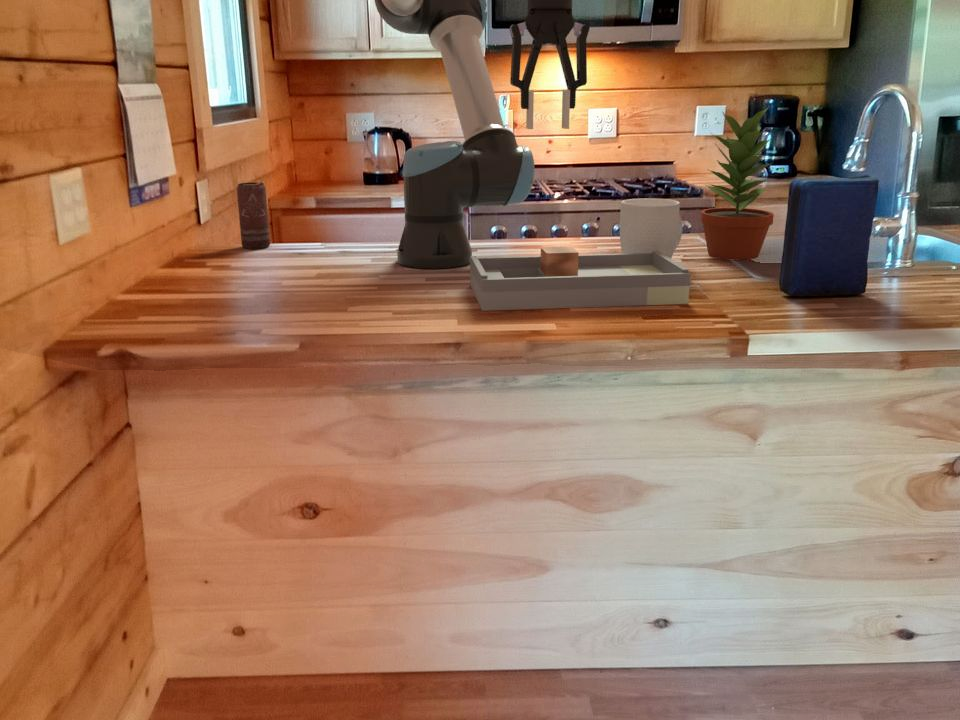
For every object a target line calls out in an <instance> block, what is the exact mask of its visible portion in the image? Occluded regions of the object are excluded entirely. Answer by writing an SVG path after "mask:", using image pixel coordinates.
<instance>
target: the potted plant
mask: <svg viewBox="0 0 960 720" xmlns="http://www.w3.org/2000/svg"><path fill="white" fill-rule="evenodd" d="M770 106H771V105H768V107H767V108H766V109H764V110H759V111H758V112H756V113H755V114H754V115H753V117H750V118H747V119H745V120H744V121H743V122H742V126H741V125H740V123H739V122H738V121H737V120H736V119H735V118H734V117H733V116H730V115H727V114H725V112H722V114H723V117H724V118H725V119H726V121H727V123H728V124H729V127H730V128H731V129H732V131H733V133H734V134H735V136H736V139H734V138H730V137H729V136H728V135H726V138H723V137H721V136H718V135H717V136H716V135H714V134H713V133H712V132H710V134H711V135H712V136H713V137H715V138H716V139H717V140H718V141H719V142H720V143H721V144H722V145H724V146H725V147H726V148H727V149H728V156H729V157H728V156H727V155H726V154H725V153H724V151H723V150H722V149H721V148H720V147H719V146H718V145H717V144H716V143H714V145H715V146H716V147H717V150H719V152H720V153H721V155H722V156H723V157H724V158H725V160H726V161H727V163H724V162H721V161H719V160H717V159H716V161H717V163H718V164H719V166H721V168H723V169H724V171H726V172H727V174H729V177H728V176H727V175H725V174H724V173H721V172H719V171H715V170H709V169H708V171H709V172H710V173H712V174H714V175H715V176H716V177H718V178H720V179H721V180H722V181H724V182H725V183H727V184H728V185H729V186H731V187H733V188H729V187H726V186H724V185H716V184H710V183H708V184H706V183H705V184H704V185H705V186H706V187H707V188H708V189H709V190H711V191H713V192H714V193H715V194H717V195H718V196H719V197H721V199H722V198H723V200H725V201H727V202H728V203H730V205H732V206H734V207H713V208H707V209H706V208H705V209H702V210H701V211H700V215H699V216H700V217H699V222H700V223H702V227H703V228H702V229H703V233H704V239H705V243H706V249H707V254H708V256H710V257H712V258H717V259H722V260H731V259H746V260H754V259H757V258H759V256H760V254H761V252H762V248H763V246H764V242H765V239H766V237H767V234H768V231H769V228H770V227H771V226H773V223H774V215H775V213H774V212H772V211H769V210H765V209H757V208H746V207H747V206H749V205H750V204H751V203H752V202H754V201H755V200H756V199H757V198H758V197H759V196H761V195H762V194H763V193H764V192H765V191H766V188H767V187H768V185H766V186H764V187H763V188H755V187H757V186H758V185H760V184H763V183H764V182H766V181H768V178H766V179H764V180H753V177H752V178H750V179H746V178H748V177H750V176H752V175H753V174H755V173H757V172H759V171H761V170H762V169H765V168H767V167H768V166H770V165H772V164H773V163H774V162H771V163H766V164H759V165H756V164H757V163H758V162H759V161H760V159H762V158H763V153H760V152H762V150H764V149H765V145H766V144H767V143H769V142H770V141H771V140H772V138H773V136H772V137H771V138H769V139H768V140H760V141H759V142H757V141H758V139H759V137H760V136H761V133H762V132H761V129H762V127H761V126H760V125H761V123H760V121H761V119H762V117H763V116H764V115H765V113H766V112H767V111H768V109H769V107H770ZM756 142H757V143H756ZM755 165H756V166H755ZM709 185H710V186H709ZM753 188H755V189H753ZM751 189H752V190H751ZM749 190H751V191H749ZM730 194H731V195H730ZM746 260H745V261H746Z"/></svg>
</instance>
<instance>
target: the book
mask: <svg viewBox="0 0 960 720" xmlns="http://www.w3.org/2000/svg"><path fill="white" fill-rule="evenodd" d="M879 182H880V181H879V178H876V177H873V176H871V175H869V174H865V175H857V176H852V177H835V178H834V177H833V178H831V177H830V178H811V177H806V178H804V177H803V178H793V179H792V180H791V181H790V183H789V186H788V200H787V212H786V219H785V225H784V234H783V235H784V238H783V247H782V249H783V250H782V253H781V254H782V255H781V264H780V271H779V280H778V281H779V284H778V285H779V291H780V292H782V293H784V294H786V295H787V296H791V297H830V296H831V297H833V296H853V295H855V296H856V295H858V296H859V295H861V294H862V295H863V294H865V293H866V290H867V289H866V288H867V285H868V275H869V273H868V272H869V271H868V269H869V267H868V265H869V264H868V258H869V250H870V241H871V240H870V239H871V236H872V233H873V225H874V218H875V210H876V206H877V205H876V204H877V198H878V193H879Z"/></svg>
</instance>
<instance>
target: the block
mask: <svg viewBox="0 0 960 720" xmlns="http://www.w3.org/2000/svg"><path fill="white" fill-rule="evenodd" d="M579 254H580V253H579V251H577V250H576V249H575V247H573V246H548V247H545V246H544V247H540V256H541V264H540V270H541V271H542V272H543V273H544V274H545V276H578V255H579Z"/></svg>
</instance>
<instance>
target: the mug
mask: <svg viewBox="0 0 960 720" xmlns="http://www.w3.org/2000/svg"><path fill="white" fill-rule="evenodd" d="M680 206H681V203H680V202H679V201H678V200H674V199H668V198H667V199H666V198H656V197H655V198H650V197H649V198H647V197H645V198H630V199H624V200H622V201H621V202H620V216H619V218H620V219H619V243H620V248H621V249H620V250H621V254H629V253H652V251H659V252H660V253H662V254H664V255H665V256H667V257H669V258H670V259H672V258H673V255H674V252H675V251H676V250H677V248H678V246H679V244H680V242H681V239H682V235H683V220H682V217H681V215H680Z"/></svg>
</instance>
